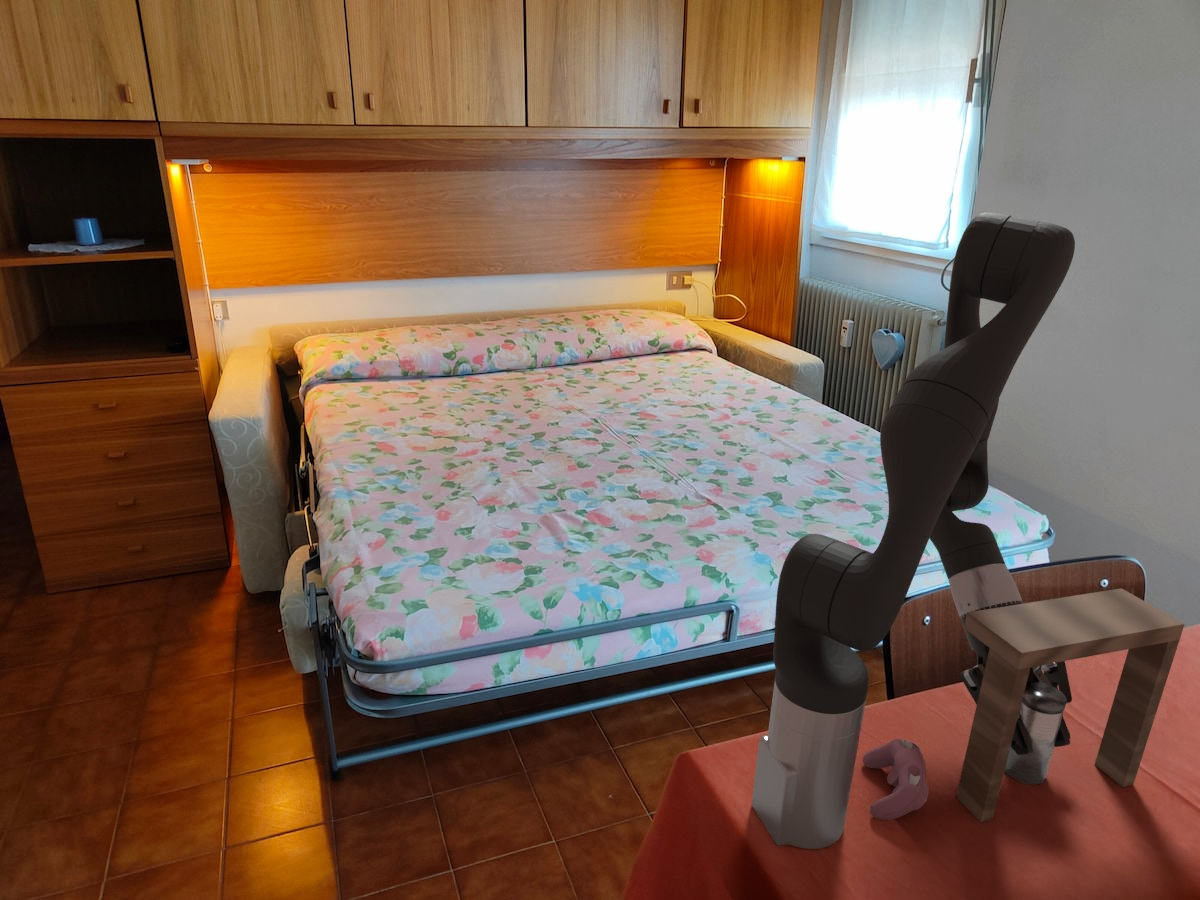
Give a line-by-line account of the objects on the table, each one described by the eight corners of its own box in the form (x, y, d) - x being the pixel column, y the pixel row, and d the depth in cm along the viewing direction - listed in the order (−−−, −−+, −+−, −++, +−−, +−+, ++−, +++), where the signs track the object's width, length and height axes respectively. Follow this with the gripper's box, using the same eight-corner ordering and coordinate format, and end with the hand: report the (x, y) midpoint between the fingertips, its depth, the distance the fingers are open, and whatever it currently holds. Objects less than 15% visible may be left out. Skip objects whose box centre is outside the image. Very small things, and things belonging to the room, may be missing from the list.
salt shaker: (1022, 788, 96) (1042, 710, 92) (992, 760, 100) (1010, 684, 97) (1055, 780, 97) (1076, 703, 94) (1024, 752, 102) (1043, 678, 98)
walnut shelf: (980, 822, 91) (1021, 652, 83) (933, 772, 98) (967, 612, 90) (1133, 784, 97) (1184, 623, 90) (1078, 740, 104) (1121, 588, 97)
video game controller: (902, 838, 90) (942, 798, 88) (866, 817, 90) (905, 776, 88) (890, 775, 100) (926, 737, 97) (858, 756, 100) (892, 718, 97)
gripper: (960, 606, 97) (1016, 758, 90) (1057, 591, 101) (1116, 735, 94) (924, 622, 103) (973, 764, 97) (1016, 607, 108) (1069, 742, 101)
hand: (1043, 749), depth 96 cm, fingers closed on salt shaker, 4 cm apart
